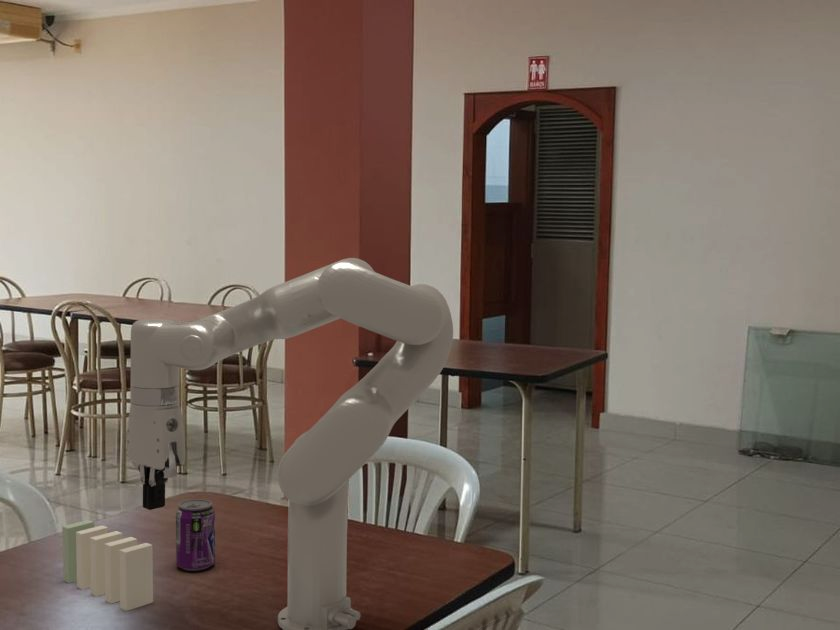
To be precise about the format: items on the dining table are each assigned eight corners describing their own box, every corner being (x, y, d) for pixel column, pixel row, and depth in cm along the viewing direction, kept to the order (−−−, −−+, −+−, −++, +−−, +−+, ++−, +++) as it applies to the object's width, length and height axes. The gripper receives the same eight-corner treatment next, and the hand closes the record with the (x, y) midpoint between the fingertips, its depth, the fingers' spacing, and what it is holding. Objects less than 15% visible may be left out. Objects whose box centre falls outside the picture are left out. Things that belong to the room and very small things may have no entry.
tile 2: (137, 595, 177) (137, 539, 176) (111, 603, 173) (110, 546, 172) (131, 592, 178) (131, 536, 177) (105, 600, 174) (104, 543, 173)
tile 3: (123, 588, 180) (122, 533, 179) (96, 596, 176) (95, 540, 175) (117, 585, 181) (116, 530, 180) (90, 594, 177) (89, 537, 176)
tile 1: (153, 602, 174) (152, 545, 173) (126, 611, 170) (125, 552, 169) (146, 599, 175) (146, 542, 174) (120, 608, 171) (119, 550, 170)
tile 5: (95, 575, 186) (94, 522, 184) (68, 583, 182) (67, 528, 181) (89, 573, 187) (88, 519, 186) (63, 580, 183) (62, 526, 182)
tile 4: (108, 582, 183) (108, 527, 182) (82, 589, 179) (81, 534, 178) (103, 579, 184) (102, 525, 183) (76, 587, 180) (76, 531, 179)
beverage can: (205, 574, 187) (205, 510, 186) (169, 571, 188) (169, 507, 187) (221, 561, 194) (220, 499, 193) (186, 558, 195) (185, 497, 194)
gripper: (202, 400, 163) (200, 513, 165) (147, 386, 172) (147, 493, 174) (162, 406, 157) (161, 522, 159) (108, 392, 167) (107, 501, 169)
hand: (153, 507), depth 167 cm, fingers closed
